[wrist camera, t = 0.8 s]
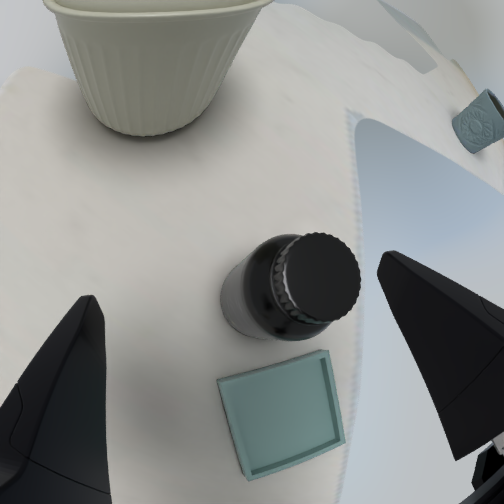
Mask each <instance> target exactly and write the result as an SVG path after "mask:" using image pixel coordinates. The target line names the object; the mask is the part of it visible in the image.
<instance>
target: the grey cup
mask: <svg viewBox="0 0 504 504" xmlns="http://www.w3.org/2000/svg"><path fill="white" fill-rule="evenodd" d="M452 126H453V129H454V131H455V133H456V135H457V137H458V139H459V140H460V142H461V143H462V144H463V146H464V147H465V148H466V149H467V150H468V151H469V152H471V153H476V152H478V151H479V150H481V149H483V148H485V147H487V146H489V145H490V144H491V143H495V142H496V141H498V140H500V139H502V138H503V137H504V107H503V105H502V104H501V102H500V101H499V100H498V98H497V97H496V96H495V95H494V94H493V93H492V92H491V91H490V90H489V89H485V90H484V91H483V92H482V93H481V94H480V95H479V96H478V97H477V98H476V99H475V100H474V101H473V102H472V103H470V104H469V106H468V107H466V108H465V109H464V110H463V111H462V112H461V113H460V114H459V115H458V116H457V117H455V118H454V119H453V120H452Z"/></svg>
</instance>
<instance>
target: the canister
mask: <svg viewBox="0 0 504 504" xmlns="http://www.w3.org/2000/svg"><path fill="white" fill-rule="evenodd" d="M273 1H274V0H43V3H44V5H45V6H46V8H47V9H48V10H50V11H51V12H52V13H54V14H55V16H56V20H57V23H58V27H59V30H60V33H61V37H62V40H63V43H64V45H65V49H66V51H67V55H68V57H69V60H70V63H71V66H72V69H73V71H74V74H75V76H76V79H77V82H78V84H79V86H80V89H81V91H82V93H83V96H84V98H85V100H86V102H87V104H88V106H89V108H90V110H91V111H92V113H93V114H94V115H95V116H96V118H97V119H98V120H99V121H100V122H102V123H103V124H104V125H105V126H107V127H109V128H112V129H113V130H114V131H118V132H121V133H123V134H130V135H132V136H143V137H144V136H154V135H158V134H165V133H167V132H173V131H174V130H176V129H178V128H182V127H183V126H185V125H186V124H189V123H191V122H192V121H193V120H194V119H195V118H197V117H198V116H199V115H200V114H201V113H202V112H203V111H204V110H205V109H206V108H207V107H208V105H209V103H210V102H211V100H212V99H213V97H214V95H215V94H216V92H217V90H218V88H219V86H220V84H221V82H222V81H223V79H224V77H225V75H226V73H227V71H228V69H229V67H230V66H231V64H232V62H233V60H234V58H235V56H236V54H237V52H238V50H239V48H240V47H241V45H242V43H243V41H244V39H245V37H246V36H247V34H248V32H249V30H250V29H251V27H252V25H253V23H254V21H255V20H256V18H257V16H258V14H259V12H260V11H261V9H262V8H263V7H265V6H267V5H269V4H270V3H272V2H273Z"/></svg>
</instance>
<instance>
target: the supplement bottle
mask: <svg viewBox="0 0 504 504" xmlns="http://www.w3.org/2000/svg"><path fill="white" fill-rule="evenodd" d="M360 282H361V277H360V269H359V267H358V262H357V261H356V259H355V255H354V254H353V253H352V252H351V250H350V248H348V247H347V246H346V244H345V243H344V242H342V241H340V240H339V239H338V238H336V237H333V236H332V235H330V234H329V235H327V234H325V233H317V232H314V233H312V234H310V233H307V234H305V235H304V236H302V235H297V234H284V235H279V236H276V237H273V238H271V239H268V240H267V241H265V242H264V243H262V244H261V245H259V246H258V247H257V248H256V249H255V250H254V251H253V252H251V253H250V254H249V255H248V256H247V257H246V258H245V259H244V260H243V261H242V262H241V263H239V264H238V265H237V266H236V267H235V268H234V269H233V270H232V271H231V272H230V273H229V275H228V276H227V278H226V280H225V281H224V284H223V287H222V291H221V306H222V310H223V313H224V315H225V317H226V319H227V320H228V322H229V323H230V324H231V325H232V326H233V328H235V329H236V330H237V331H239V332H240V333H242V334H244V335H246V336H249V337H254V338H261V339H271V340H282V341H300V340H306V339H309V338H312V337H314V336H316V335H318V334H319V333H321V332H322V331H324V330H325V329H326V328H327V327H328V326H329V325H330V324H331V323H332V322H333V321H335V320H339V319H340V318H341V317H343V316H345V315H346V314H347V313H348V311H350V310H352V307H353V305H354V304H355V303H356V300H357V298H358V296H359V290H360V288H361V285H360Z"/></svg>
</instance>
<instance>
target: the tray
mask: <svg viewBox="0 0 504 504" xmlns="http://www.w3.org/2000/svg"><path fill="white" fill-rule="evenodd" d="M217 382H218V386H219V390H220V394H221V398H222V402H223V405H224V409H225V413H226V416H227V420H228V424H229V427H230V431H231V434H232V438H233V441H234V445H235V448H236V451H237V455H238V458H239V461H240V464H241V468H242V471H243V474H244V476H245V477H246V479H247V480H248V481H251V480H254V479H258V478H261V477H264V476H267V475H270V474H273V473H276V472H278V471H281V470H284V469H287V468H289V467H292V466H294V465H297V464H299V463H302V462H304V461H307V460H309V459H312V458H314V457H316V456H319V455H321V454H323V453H325V452H327V451H330V450H332V449H334V448H336V447H338V446H340V445H342V444H344V443H346V442H345V436H344V430H343V424H342V418H341V412H340V407H339V401H338V396H337V390H336V385H335V380H334V375H333V370H332V365H331V360H330V355H329V350H318V351H315V352H312V353H309V354H306V355H303V356H300V357H297V358H294V359H290V360H287V361H284V362H281V363H277V364H274V365H270V366H267V367H263V368H260V369H256V370H253V371H249V372H245V373H241V374H237V375H233V376H229V377H225V378H221V379H217Z"/></svg>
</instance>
